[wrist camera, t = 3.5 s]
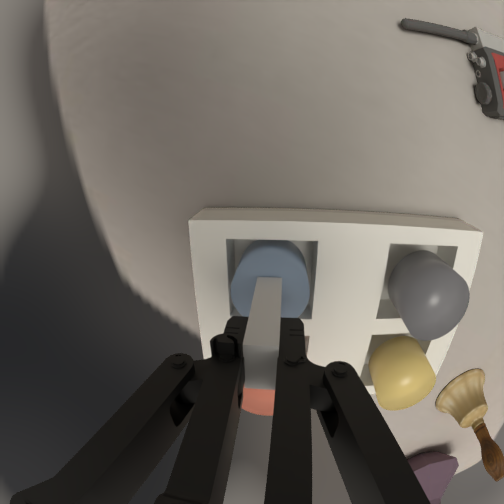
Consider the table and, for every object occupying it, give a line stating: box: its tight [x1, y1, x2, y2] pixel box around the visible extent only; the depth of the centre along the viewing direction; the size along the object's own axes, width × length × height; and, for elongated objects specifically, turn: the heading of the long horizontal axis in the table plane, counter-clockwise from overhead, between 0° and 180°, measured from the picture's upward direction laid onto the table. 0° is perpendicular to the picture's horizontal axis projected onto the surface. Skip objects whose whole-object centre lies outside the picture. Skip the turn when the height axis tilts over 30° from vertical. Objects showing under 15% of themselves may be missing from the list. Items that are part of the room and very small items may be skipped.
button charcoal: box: [388, 250, 469, 341], centre depth 17 cm, size 5×5×4 cm
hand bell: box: [436, 369, 504, 481], centre depth 20 cm, size 8×8×16 cm
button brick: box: [241, 387, 275, 415], centre depth 20 cm, size 5×5×4 cm
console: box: [188, 208, 483, 394], centre depth 22 cm, size 16×22×4 cm
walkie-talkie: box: [401, 18, 504, 119], centre depth 13 cm, size 9×4×20 cm
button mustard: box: [368, 336, 436, 410], centre depth 19 cm, size 5×5×4 cm
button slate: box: [231, 240, 310, 318], centre depth 20 cm, size 5×5×4 cm
